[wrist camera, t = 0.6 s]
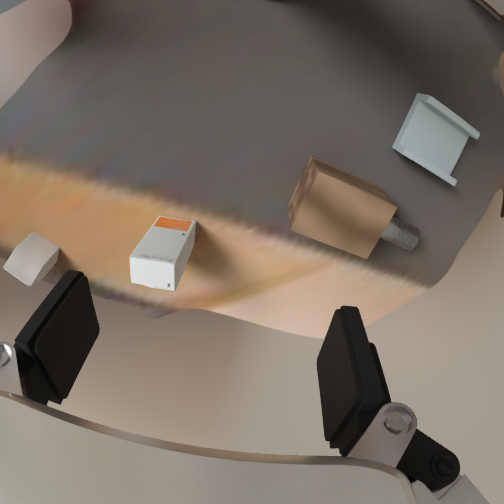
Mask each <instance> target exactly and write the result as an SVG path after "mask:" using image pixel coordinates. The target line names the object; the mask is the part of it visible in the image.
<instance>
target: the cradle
mask: <svg viewBox="0 0 504 504" xmlns="http://www.w3.org/2000/svg"><path fill="white" fill-rule="evenodd" d="M469 136H471V137H473V138H475V139H477V140H478V138H479V136H480V133H479V132H478V131H476V130H475V129H474V128H473V127H472V126H470V125H469V124H468V123H467V122H465V121H464V120H463V119H462V118H460V117H459V116H458V115H456V114H455V113H454V112H452V111H451V110H450V109H448V108H447V107H446V106H444V105H443V104H442V103H440V102H439V101H437V100H436V99H434V98H433V97H432V96H430V95H426V94H420V93H417V95H416V97H415V99H414V101H413V104H412V106H411V108H410V110H409V112H408V115H407V117H406V119H405V121H404V123H403V125H402V127H401V130H400V132H399V134H398V136H397V138H396V140H395V142H394V144H393V146H392V148H393V149H395V150H397V151H398V152H400V153H401V154H403V155H404V156H406V157H408V158H409V159H411V160H413V161H415V162H416V163H418V164H420V165H421V166H423V167H425V168H426V169H428V170H429V171H431V172H433V173H434V174H436V175H437V176H439V177H440V178H442V179H443V180H445V181H447V182H448V183H450V184H451V185H453V186H455V184H456V182H457V180H456V179H454V178H453V177H451V176H450V174H451V172H452V170H453V168H454V166H455V164H456V162H457V160H458V158H459V156H460V154H461V152H462V150H463V148H464V146H465V144H466V142H467V140H468V138H469Z"/></svg>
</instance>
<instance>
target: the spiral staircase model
mask: <svg viewBox="0 0 504 504" xmlns="http://www.w3.org/2000/svg"><path fill="white" fill-rule="evenodd" d="M475 1H476V2H478V3H479V4H480V5H481V6H482V7H484V8H485V9H486V10H487V11H488V12H490V13H491V14H492V15H493V16H494V17H495V18H496V19H498V20H504V0H475Z"/></svg>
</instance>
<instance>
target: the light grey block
mask: <svg viewBox="0 0 504 504" xmlns="http://www.w3.org/2000/svg"><path fill="white" fill-rule="evenodd" d="M59 249H60V247H58V246H56V245H55V244H53V243H52V242H50V241H48V240H47V239H45V238H44V237H42V236H40V235H39V234H37V233H36V232H34V231H33V232H32V233H31V234H30V235H29V236H27V237H26V238H25V239H24V240H23V241H22V242H21V243H20V244H19V245H18V246H17V247H16V248H15V249H14V251H13V253H12V254H11V256H10V257H9V259H8V260H7V262H6V263H5V265H4V266H3V267H4V269H5V270H6V271H8V272H9V273H11V274H12V275H13V276H15V277H16V278H18V279H19V280H20V281H22V282H24V283H25V284H26V285H28V286H29V287H31V286H33V285H34V284H35V283H37V282H38V281H40V280H42V279H43V277H44V276H45V275H46V274H47V273H48V271H49V270H50V269H51V268H52V267H53V266H54V265H55V263H56V262H57V260H58V254H59Z"/></svg>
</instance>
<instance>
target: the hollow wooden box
mask: <svg viewBox="0 0 504 504" xmlns="http://www.w3.org/2000/svg"><path fill="white" fill-rule="evenodd" d="M396 209H397V207H396V206H395V204H394V203H393V202H392V201H391V200H390V199H389V197H388V196H387V195H386V194H385V193H384V192H383V191H382V189H381V188H380V187H379V186H377V185H375V184H373V183H371V182H369V181H366V180H364V179H362V178H360V177H358V176H356V175H354V174H352V173H349V172H347V171H345V170H343V169H341V168H338V167H336V166H334V165H332V164H329V163H327V162H325V161H323V160H320V159H318V158H316V157H313V156H311V155H310V158H309V160H308V162H307V164H306V166H305V169H304V171H303V173H302V175H301V177H300V180H299V182H298V184H297V186H296V188H295V191H294V193H293V195H292V197H291V199H290V201H289V204H288V214H289V221H290V229H291V231H293V232H296V233H299V234H301V235H304V236H307V237H309V238H312V239H315V240H318V241H320V242H323V243H326V244H328V245H331V246H333V247H336V248H339V249H341V250H344V251H347V252H349V253H352V254H354V255H357V256H360V257H362V258H365V259H367V258H368V256H369V255H370V253H371V251H372V250H373V248H374V247H375V245H376V243H377V242H378V240H379V238H380V237H381V235H382V233H383V232H384V230H385V228H386V227H387V225H388V223H389V222H390V220H391V218H392V216H393V215H394V213H395V211H396Z"/></svg>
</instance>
